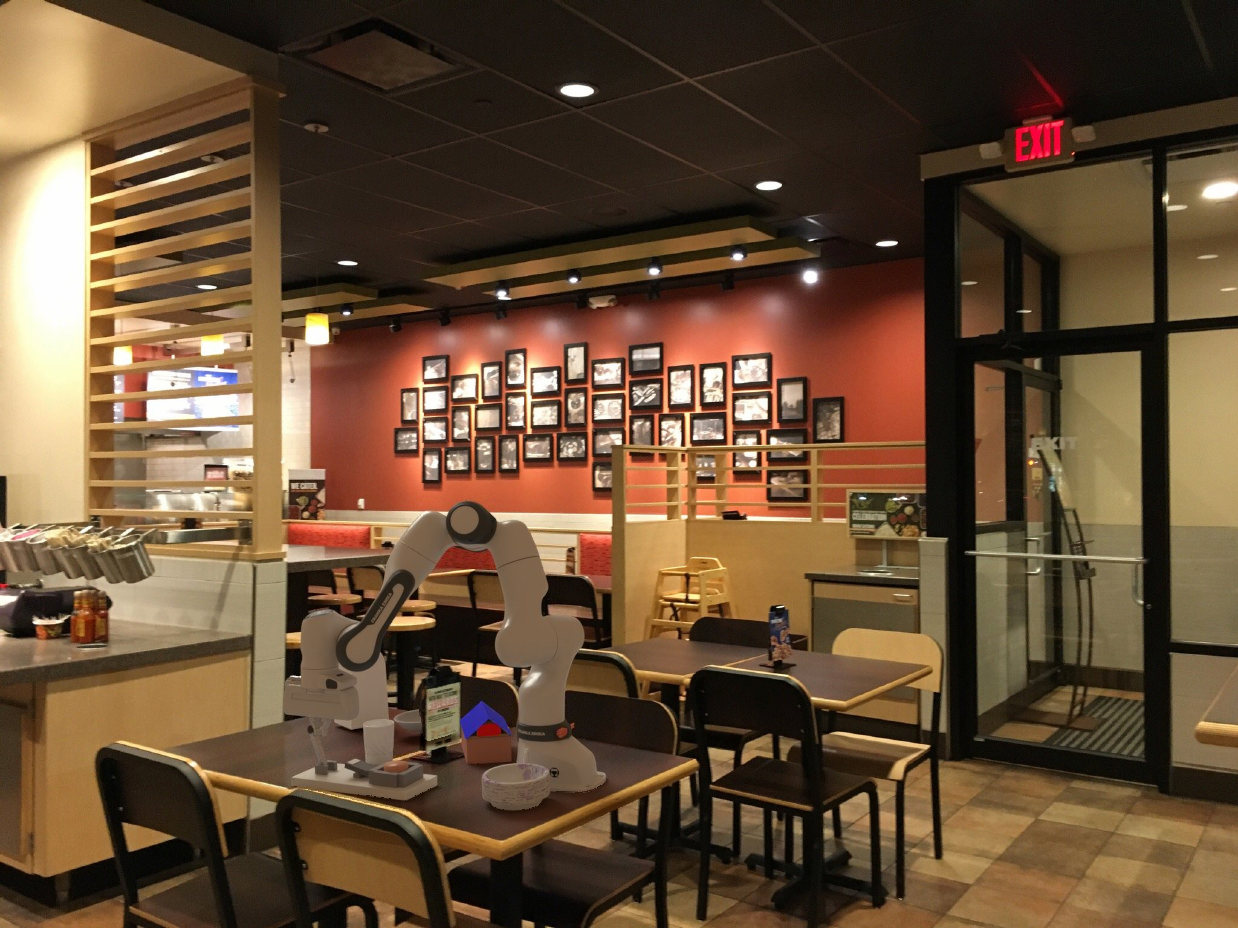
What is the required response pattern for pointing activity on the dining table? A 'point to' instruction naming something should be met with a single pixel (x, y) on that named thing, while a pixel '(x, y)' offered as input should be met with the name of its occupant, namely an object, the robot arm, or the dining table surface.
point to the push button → (396, 766)
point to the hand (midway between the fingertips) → (320, 735)
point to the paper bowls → (516, 786)
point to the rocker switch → (359, 766)
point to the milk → (369, 695)
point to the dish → (409, 721)
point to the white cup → (378, 741)
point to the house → (485, 736)
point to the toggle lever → (317, 746)
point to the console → (367, 780)
